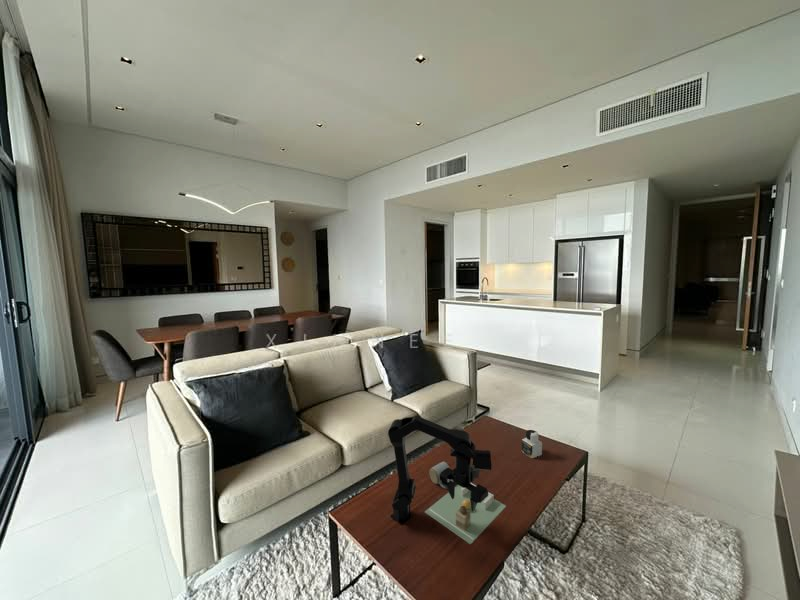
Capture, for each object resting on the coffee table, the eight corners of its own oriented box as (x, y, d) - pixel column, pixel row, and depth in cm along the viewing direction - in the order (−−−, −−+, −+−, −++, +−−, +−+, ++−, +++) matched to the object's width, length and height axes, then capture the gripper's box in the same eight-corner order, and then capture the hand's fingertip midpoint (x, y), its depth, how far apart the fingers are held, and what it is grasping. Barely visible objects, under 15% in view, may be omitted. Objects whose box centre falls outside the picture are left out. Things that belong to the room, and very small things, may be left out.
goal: (485, 509, 133) (485, 503, 133) (460, 495, 142) (460, 489, 141) (493, 501, 138) (493, 495, 137) (469, 488, 146) (469, 481, 146)
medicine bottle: (521, 451, 174) (521, 430, 172) (531, 448, 177) (531, 427, 175) (531, 458, 167) (532, 436, 166) (542, 455, 170) (542, 433, 169)
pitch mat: (470, 545, 117) (470, 544, 117) (424, 512, 133) (424, 511, 133) (506, 506, 135) (506, 505, 135) (461, 482, 151) (461, 481, 151)
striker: (464, 530, 123) (464, 512, 122) (455, 524, 126) (455, 506, 125) (470, 524, 126) (470, 506, 125) (461, 519, 129) (461, 501, 128)
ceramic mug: (428, 479, 153) (428, 464, 152) (441, 473, 158) (441, 458, 157) (442, 493, 144) (442, 477, 143) (456, 485, 149) (456, 470, 148)
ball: (467, 512, 132) (467, 504, 132) (460, 508, 134) (460, 500, 134) (472, 508, 134) (472, 500, 134) (465, 503, 137) (465, 496, 136)
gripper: (496, 467, 122) (495, 506, 124) (455, 447, 136) (455, 482, 137) (480, 481, 115) (479, 522, 116) (438, 459, 128) (438, 496, 130)
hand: (462, 504), depth 125 cm, fingers open, 9 cm apart
